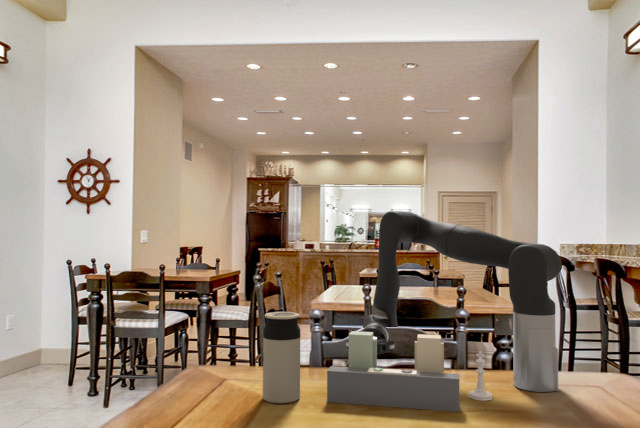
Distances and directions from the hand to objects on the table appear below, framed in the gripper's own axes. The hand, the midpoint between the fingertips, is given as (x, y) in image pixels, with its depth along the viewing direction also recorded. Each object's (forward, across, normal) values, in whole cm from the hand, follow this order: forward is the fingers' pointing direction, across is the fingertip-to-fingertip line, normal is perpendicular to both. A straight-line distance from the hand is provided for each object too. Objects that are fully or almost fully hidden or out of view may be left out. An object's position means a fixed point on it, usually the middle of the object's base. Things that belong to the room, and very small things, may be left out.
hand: (365, 352), depth 128 cm
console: (+11, +8, +7) cm, 15 cm away
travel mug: (+17, -16, +7) cm, 24 cm away
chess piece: (+6, +26, +7) cm, 28 cm away
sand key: (+7, +15, +5) cm, 17 cm away
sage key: (+7, 0, +5) cm, 9 cm away
